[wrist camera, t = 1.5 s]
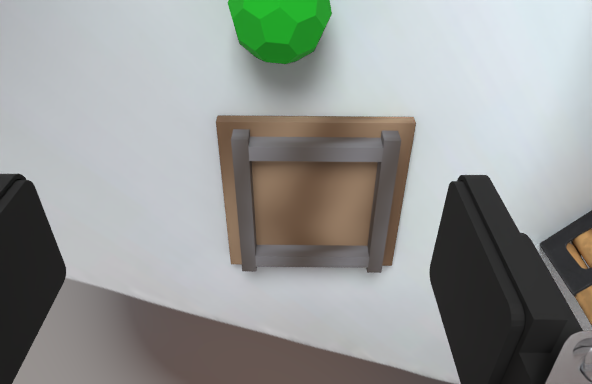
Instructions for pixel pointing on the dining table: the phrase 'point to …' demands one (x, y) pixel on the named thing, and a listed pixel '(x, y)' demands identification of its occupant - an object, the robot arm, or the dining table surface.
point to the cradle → (313, 189)
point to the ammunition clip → (574, 259)
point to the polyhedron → (280, 27)
